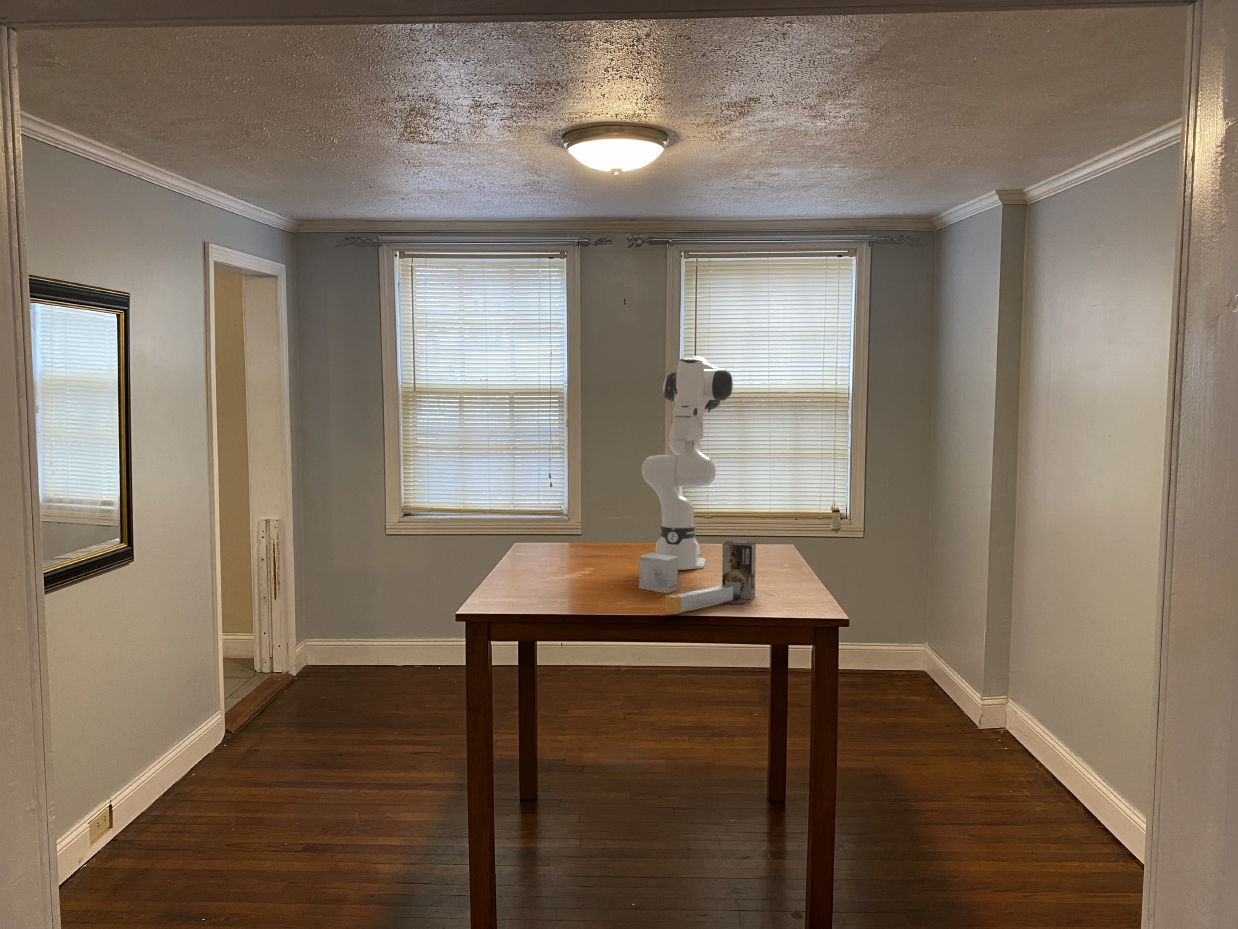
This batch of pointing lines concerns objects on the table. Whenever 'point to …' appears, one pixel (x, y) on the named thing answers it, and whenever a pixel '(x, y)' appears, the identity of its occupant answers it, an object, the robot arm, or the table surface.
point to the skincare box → (658, 573)
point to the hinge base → (735, 602)
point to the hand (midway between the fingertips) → (689, 455)
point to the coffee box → (740, 565)
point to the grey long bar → (703, 597)
